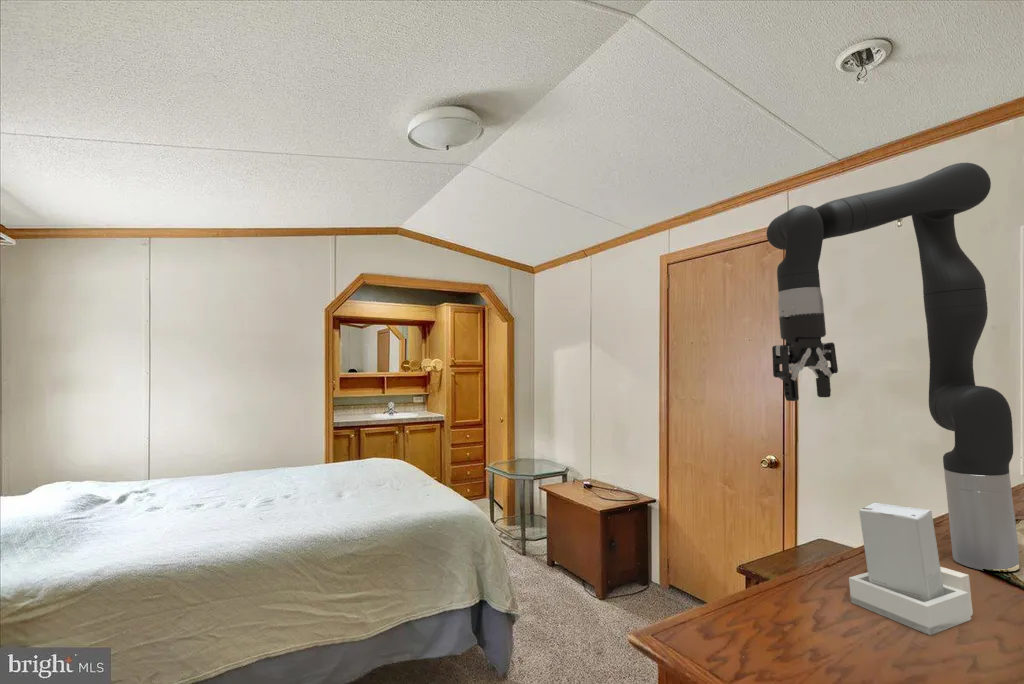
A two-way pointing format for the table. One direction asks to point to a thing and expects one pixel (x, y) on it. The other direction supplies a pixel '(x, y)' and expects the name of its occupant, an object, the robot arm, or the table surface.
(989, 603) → the table surface
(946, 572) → the wall
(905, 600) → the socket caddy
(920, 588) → the skincare box
